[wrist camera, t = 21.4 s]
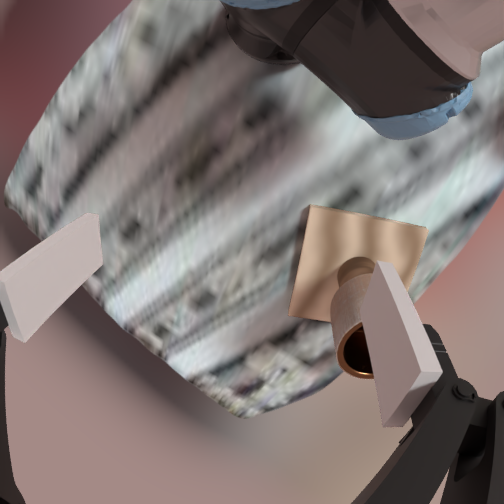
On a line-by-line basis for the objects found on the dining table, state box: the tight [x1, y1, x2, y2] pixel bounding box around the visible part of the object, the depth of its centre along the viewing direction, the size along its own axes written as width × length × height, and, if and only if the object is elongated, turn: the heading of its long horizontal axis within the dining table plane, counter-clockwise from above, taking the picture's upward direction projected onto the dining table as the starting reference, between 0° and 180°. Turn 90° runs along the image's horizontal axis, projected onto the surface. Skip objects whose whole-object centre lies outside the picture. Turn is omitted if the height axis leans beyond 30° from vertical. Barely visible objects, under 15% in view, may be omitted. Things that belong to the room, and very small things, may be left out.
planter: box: [330, 273, 374, 379], centre depth 38 cm, size 11×11×10 cm
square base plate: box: [288, 204, 429, 322], centre depth 47 cm, size 20×20×10 cm
